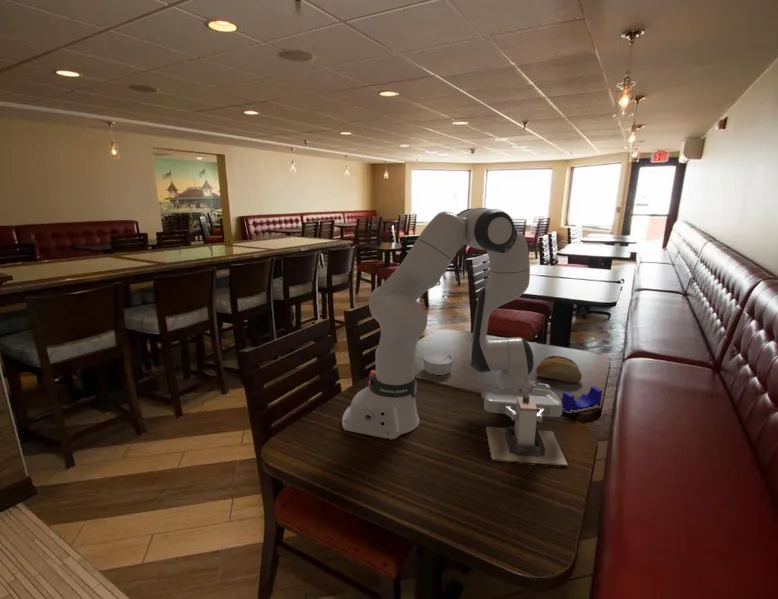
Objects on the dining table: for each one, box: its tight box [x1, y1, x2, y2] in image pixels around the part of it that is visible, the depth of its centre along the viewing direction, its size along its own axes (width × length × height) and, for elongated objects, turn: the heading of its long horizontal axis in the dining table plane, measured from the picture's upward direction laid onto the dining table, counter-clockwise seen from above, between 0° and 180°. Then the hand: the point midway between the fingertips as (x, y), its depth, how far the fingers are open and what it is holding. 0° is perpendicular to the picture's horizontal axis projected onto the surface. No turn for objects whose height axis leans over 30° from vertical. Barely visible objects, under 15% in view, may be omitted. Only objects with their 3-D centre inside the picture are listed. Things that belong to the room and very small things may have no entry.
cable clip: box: [561, 386, 603, 412], centre depth 125 cm, size 12×4×6 cm, turn 108°
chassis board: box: [485, 425, 569, 467], centre depth 106 cm, size 18×14×3 cm
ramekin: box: [422, 351, 454, 376], centre depth 150 cm, size 11×11×5 cm
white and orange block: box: [514, 396, 537, 447], centre depth 104 cm, size 4×6×13 cm
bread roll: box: [535, 355, 582, 384], centre depth 144 cm, size 10×15×8 cm, turn 70°
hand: (527, 418), depth 103 cm, fingers open, 5 cm apart
